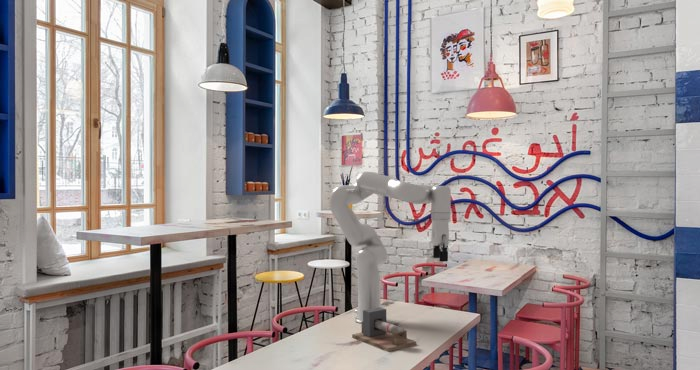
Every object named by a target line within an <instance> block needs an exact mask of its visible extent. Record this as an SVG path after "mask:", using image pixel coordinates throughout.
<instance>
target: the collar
mask: <svg viewBox="0 0 700 370" xmlns="http://www.w3.org/2000/svg"><path fill="white" fill-rule="evenodd" d="M380 307H381V306H380ZM380 307H379V308H373V309H368V310H363V335H366V336H368V337H372V336H377V335H381V334H385V333H387V332H386V331H383V330H380V329H378V328H375V327H374V320H375V319H377V320H380V321H383V322H386V323H387V309H386V308H383V307H381V308H380Z"/></svg>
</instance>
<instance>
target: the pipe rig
mask: <svg viewBox="0 0 700 370" xmlns="http://www.w3.org/2000/svg"><path fill="white" fill-rule="evenodd" d="M374 327H375V328H378V329H380V330H383V331H386V332H387V333H385V334H381V335H377V336H372V337H368V336H366V335H363V321H362V324H361V332H357V333H353V334H352V335H351V336H352V338H351V339H355V340H358V341H360V342H362V343H365V344H367V345H370V346H372V347H375V348H378V349H380V350H383V351H385V352H387V353H388V352H392V351H397V350H401V349H405V348H409V347H412V346H416V345H417V341H416V340H414V339H410V338H407V337H408V335H407V333H408V332H407V330H405V328H404V327H401V326H398V325H395V324H393V323H389V322H387V321H386V322H383V321H380V320H377V319H375V320H374Z"/></svg>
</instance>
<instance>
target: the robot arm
mask: <svg viewBox="0 0 700 370" xmlns="http://www.w3.org/2000/svg"><path fill="white" fill-rule="evenodd" d="M451 193H452V191H451V187H450V186H448V185H434V186H431V185H425V184H424V185H423V184H415V183H409V182H406V181H401V180H400V179H399V180H398V179H397V178H396V177H393V176H388V175H384V174H380V173H378V172H374V171H363V172H360V173H359V174H358V175H357V177H356V181H355V183H354V184H352V185H348V184H346V185H345V184H344V185H339V186H337V187H335V188H334V189H333V190H332V192H331V193H330V195H329V202H328V203H329V204H328V205H329V209H330V211H331V214H332V215H333V216H334V218H335V221H336V222H337V224H338V226H339V227H340V229H341V231H342V233H343V235H344V236H345V238H346V240H347V242H348V243H349V245H351V246H352V247H355V248H357V247H360V249H358V252H357V253H356V256H355V264H356V272H357V306H358V307H357V308H356V309H355V310H354V313H356V316H355V317H354V321H355V323H358V324H361V325H362V321H363V310H368V309H373V308H379V307H380V308H382V307H381V276H380V275H381V274H380V271H379V267H380V266H382V265H384V264H385V263H386V262H387V260H388V252H387V248H386V247H385V245H384V244H383V242H382V240H381V238H380V236H379V235H378V233H377V232H376V230H375V228H373V226H371V225H370V224H369V223H368V224H367V223H361V222H360V220H359V219H358V217H357V215H356V213H355V212H354V210H353V209H352V208H351V207H350V206H349V205H356V204H359V203H361V202H362V201H364V200H366V199H368V198H369V197H370V196H373V194H376V195H379V196H383V197H388V198H390V199H395V200H399V201H402V202H406V203H412V204H416V205H420V204H423V205H424V204H431V205H430V206H431V207H430V209H431V211H430V212H431V216H430V219H431V220H430V221H431V222H432V223H431V238H430V242H431V244H432V246H433V247H432V248H433V250H432V251H433V252H432V255H433V257H432V258H434V259H439V262H442V263H443V262H446V263H447V262H448V261H449V241H450V231H449V230H450V229H449V227H450V226H449V222H450V221H451V206H452V205H451V201H452V200H451V196H452V194H451Z"/></svg>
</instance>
